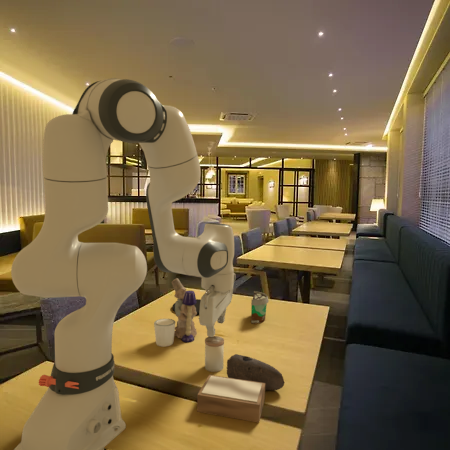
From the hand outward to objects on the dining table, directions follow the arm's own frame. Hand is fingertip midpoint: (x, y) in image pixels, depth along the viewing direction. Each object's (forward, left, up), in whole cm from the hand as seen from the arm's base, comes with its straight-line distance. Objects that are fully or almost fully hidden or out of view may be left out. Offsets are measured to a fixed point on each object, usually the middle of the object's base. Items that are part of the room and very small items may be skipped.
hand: (216, 328), depth 98 cm
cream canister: (0, 0, -11) cm, 11 cm away
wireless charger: (+45, +22, -12) cm, 51 cm away
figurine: (+18, +16, -11) cm, 27 cm away
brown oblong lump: (-7, -13, -12) cm, 18 cm away
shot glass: (+11, +20, -11) cm, 26 cm away
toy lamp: (+15, +14, -11) cm, 23 cm away
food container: (+40, -7, -11) cm, 42 cm away
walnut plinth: (-16, -9, -11) cm, 21 cm away
